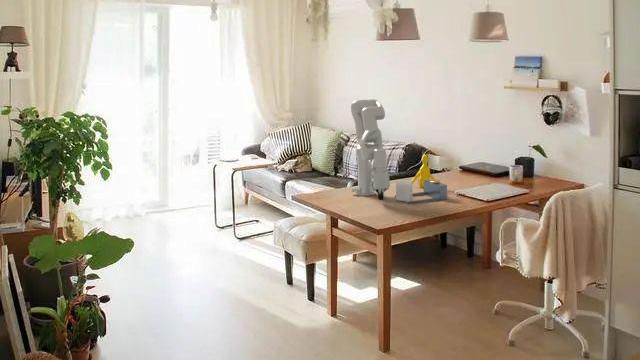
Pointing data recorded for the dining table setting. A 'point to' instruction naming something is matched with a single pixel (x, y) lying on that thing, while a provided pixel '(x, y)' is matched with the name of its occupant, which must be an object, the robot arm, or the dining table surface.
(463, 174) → the dining table surface
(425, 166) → the figure statuette
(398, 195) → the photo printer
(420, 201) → the motor mount
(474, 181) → the dining table surface
